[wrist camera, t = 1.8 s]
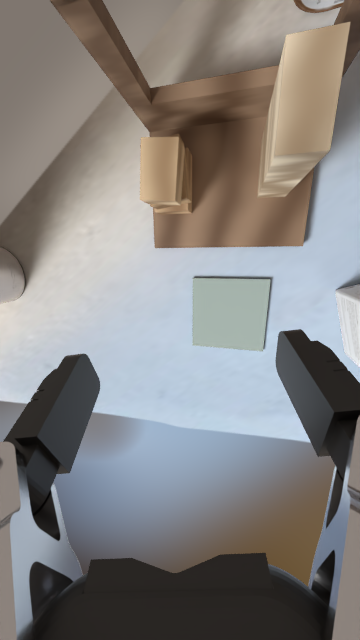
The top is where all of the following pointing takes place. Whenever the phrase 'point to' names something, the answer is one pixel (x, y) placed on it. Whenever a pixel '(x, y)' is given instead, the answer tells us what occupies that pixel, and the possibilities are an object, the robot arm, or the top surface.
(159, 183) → the offcut top
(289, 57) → the pale wooden block
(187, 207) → the offcut low
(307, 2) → the tin
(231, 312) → the mat
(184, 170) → the offcut mid
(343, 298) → the supplement box
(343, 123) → the top surface
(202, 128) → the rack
